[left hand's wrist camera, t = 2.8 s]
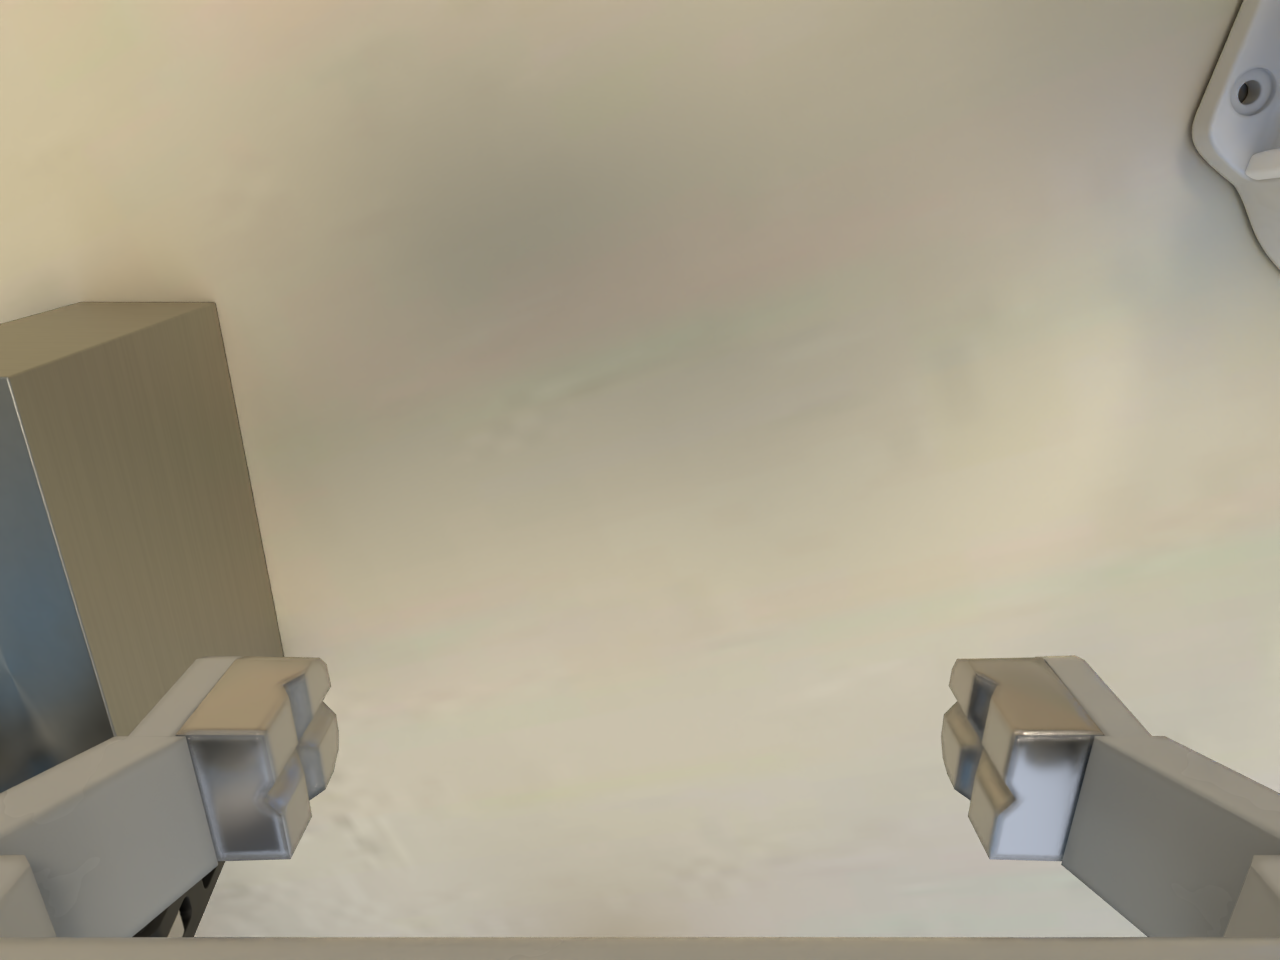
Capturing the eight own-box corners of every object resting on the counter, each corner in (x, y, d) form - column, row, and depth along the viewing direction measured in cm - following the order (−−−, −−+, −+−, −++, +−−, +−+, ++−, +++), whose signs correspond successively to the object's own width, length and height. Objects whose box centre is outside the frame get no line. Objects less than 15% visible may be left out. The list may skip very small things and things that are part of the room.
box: (80, 301, 36) (-194, 376, 24) (215, 302, 36) (7, 377, 24) (182, 699, 44) (14, 899, 32) (292, 699, 44) (165, 900, 32)
